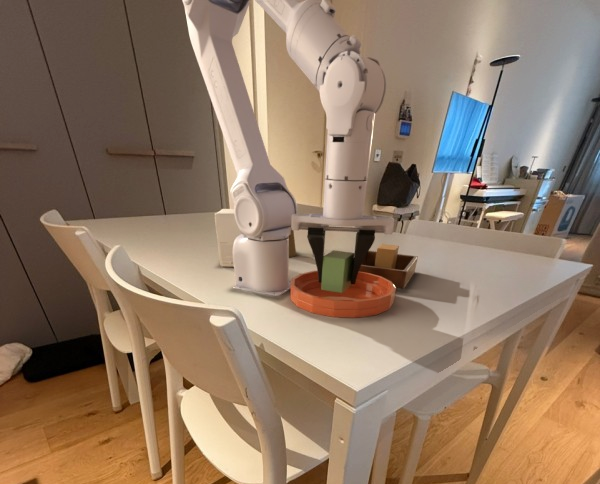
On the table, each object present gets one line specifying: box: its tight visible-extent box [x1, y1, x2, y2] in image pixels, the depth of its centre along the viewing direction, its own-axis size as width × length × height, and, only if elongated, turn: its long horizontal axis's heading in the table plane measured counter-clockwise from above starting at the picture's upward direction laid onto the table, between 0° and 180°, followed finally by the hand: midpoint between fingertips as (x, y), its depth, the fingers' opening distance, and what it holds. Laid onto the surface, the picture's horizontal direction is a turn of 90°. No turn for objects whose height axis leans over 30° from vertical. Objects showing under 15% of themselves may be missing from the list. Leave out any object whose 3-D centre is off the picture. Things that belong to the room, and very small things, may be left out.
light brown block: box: [375, 243, 400, 269], centre depth 69 cm, size 4×4×5 cm
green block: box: [321, 249, 354, 293], centre depth 52 cm, size 4×4×5 cm
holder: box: [359, 250, 419, 290], centre depth 68 cm, size 11×13×4 cm
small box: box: [214, 208, 243, 268], centre depth 74 cm, size 8×6×10 cm
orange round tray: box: [290, 270, 397, 319], centre depth 57 cm, size 17×17×3 cm
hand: (337, 281), depth 53 cm, fingers closed on green block, 4 cm apart
